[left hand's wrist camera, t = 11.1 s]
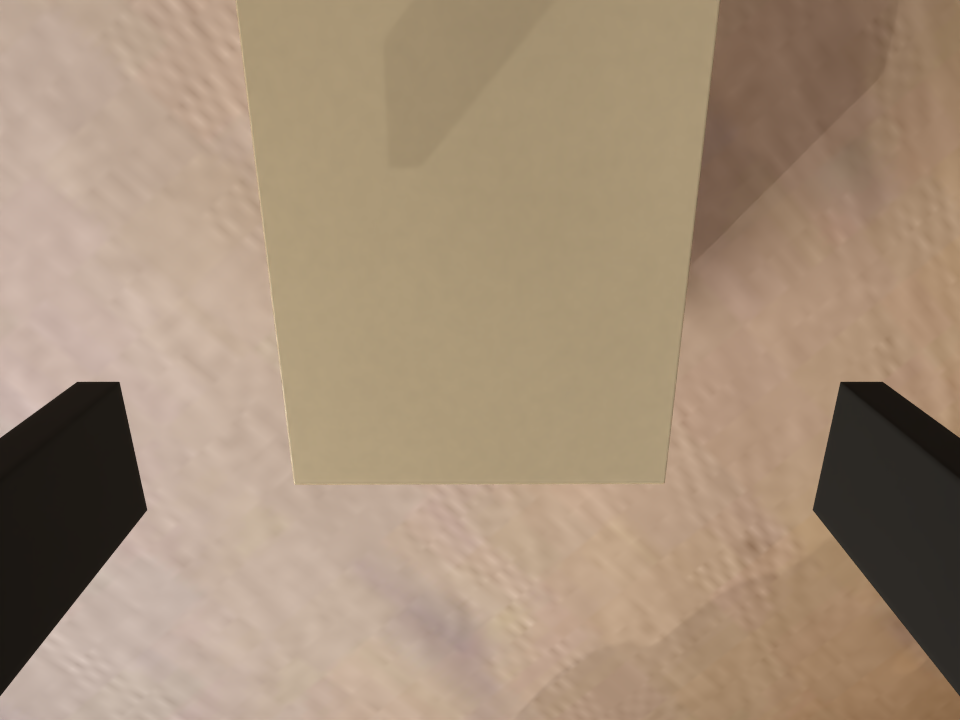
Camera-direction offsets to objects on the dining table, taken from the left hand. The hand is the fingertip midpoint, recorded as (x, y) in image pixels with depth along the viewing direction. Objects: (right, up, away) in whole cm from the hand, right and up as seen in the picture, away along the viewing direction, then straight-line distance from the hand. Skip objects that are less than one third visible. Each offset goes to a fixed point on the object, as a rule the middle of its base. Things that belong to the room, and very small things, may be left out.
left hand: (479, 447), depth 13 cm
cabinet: (0, +11, +12) cm, 17 cm away
